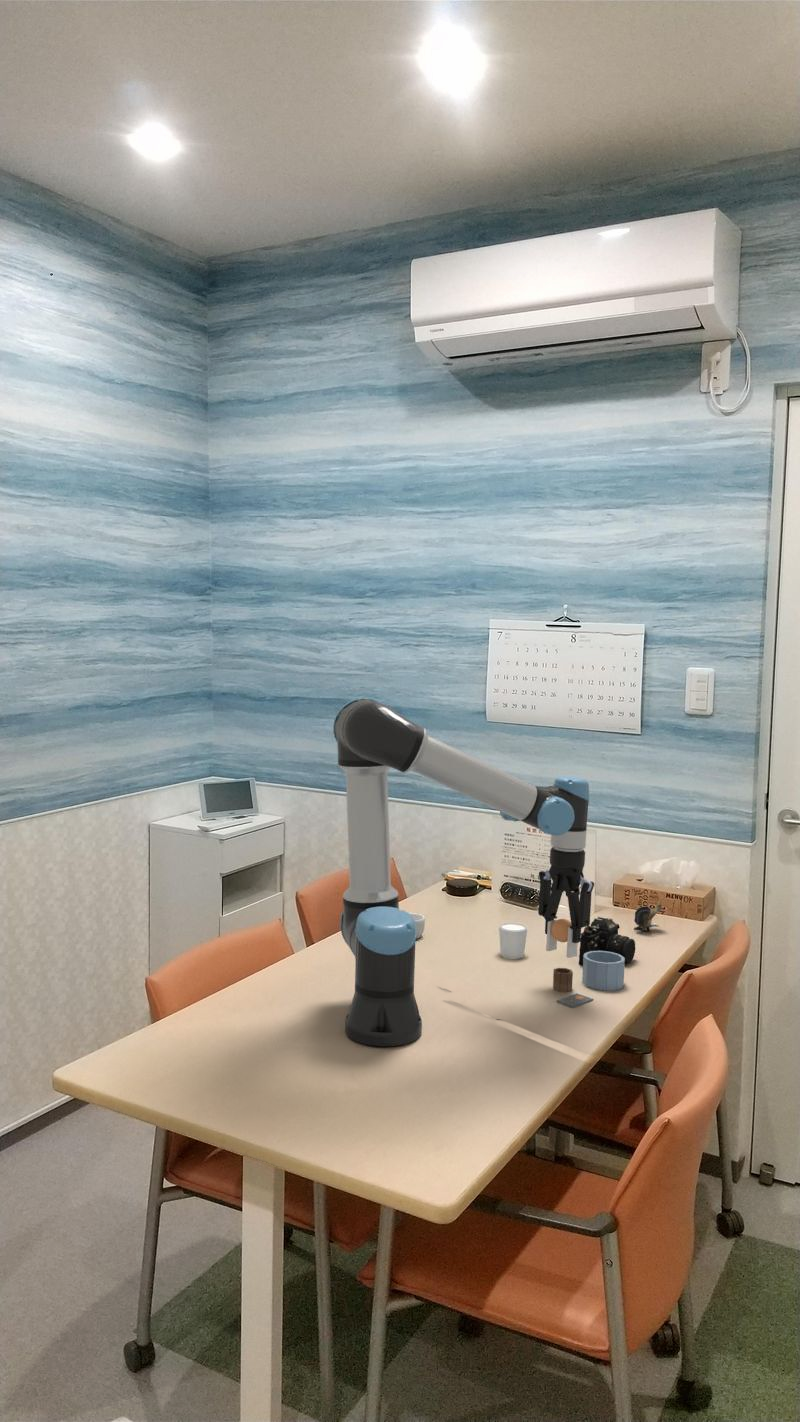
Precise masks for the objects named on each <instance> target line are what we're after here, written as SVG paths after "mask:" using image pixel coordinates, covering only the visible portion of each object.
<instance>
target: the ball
mask: <svg viewBox="0 0 800 1422" xmlns="http://www.w3.org/2000/svg"><path fill="white" fill-rule="evenodd" d="M556 920H557V921H555V922H554V923H553V925H552V928H551V932H552V935H553V937H554V938H555V939H556V940H557V942H559V943H567V939H568V928H569V926H571V920H568V919H567V918H559V919H556Z"/></svg>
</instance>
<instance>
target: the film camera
mask: <svg viewBox="0 0 800 1422" xmlns="http://www.w3.org/2000/svg"><path fill="white" fill-rule="evenodd" d="M620 928H621V927H620V925H619V923H615V921H614V920H613V919H612V918H610V917H609V918H608V917H607V918H605V917H602V916H597V917H594V919H593V921H591V922H590V925H589V926H586V927H584V928H583V932H581V940H580V942H579V949H578V950H579V955H578V957H579V959H578V965H579V966H582V967H583V956H584V953H587V952H590V951H607V952H613V953H616V954H620V955H621V956H623V957H624V958H625V965H629V964H631V963H632V961H633V959H634V957H635V955H636V954H635V953H636V942H635V939H634V938H630V937H629V936H627V935H621V934H619V930H620Z"/></svg>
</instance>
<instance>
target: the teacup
mask: <svg viewBox="0 0 800 1422" xmlns="http://www.w3.org/2000/svg"><path fill="white" fill-rule="evenodd" d="M408 913H409V914H410V915H411V916H412V917H413V919H414V921H415V929H416V940H417V939H419V938H421V937H422V935H423V933H424V931H425V923H426V922H425V921H426V917H425V916H424V914H420V913H415V912H408Z"/></svg>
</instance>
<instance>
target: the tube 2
mask: <svg viewBox="0 0 800 1422" xmlns="http://www.w3.org/2000/svg"><path fill="white" fill-rule="evenodd" d="M625 965H626V964H625V958H624V957H623V956H621V955H620V954H616V953H613V952H607V951H590V952H587V953H584V956H583V966H582V976H581V977H582V984H583V985H585V986H586V987H588V988H590V989H593V990H600V991H617V990H621V989H622V988H624V985H625Z"/></svg>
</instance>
